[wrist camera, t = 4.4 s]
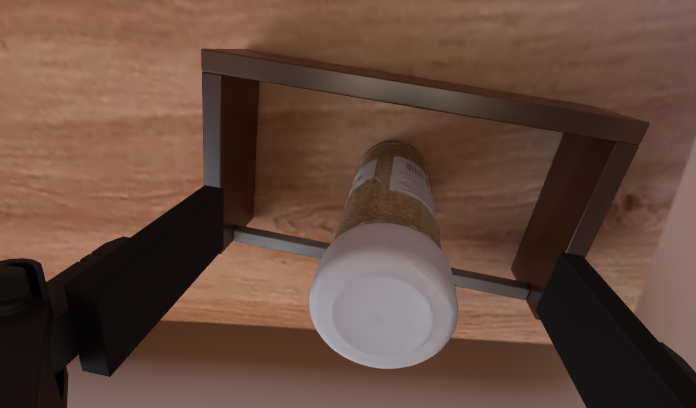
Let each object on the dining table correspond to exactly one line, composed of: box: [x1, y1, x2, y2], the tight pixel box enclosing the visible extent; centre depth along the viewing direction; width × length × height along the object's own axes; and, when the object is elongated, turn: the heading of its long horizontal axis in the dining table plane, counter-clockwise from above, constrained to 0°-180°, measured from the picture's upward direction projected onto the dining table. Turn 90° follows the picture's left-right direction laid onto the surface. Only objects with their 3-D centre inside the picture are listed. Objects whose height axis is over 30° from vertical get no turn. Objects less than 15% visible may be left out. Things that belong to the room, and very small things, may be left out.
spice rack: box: [201, 49, 650, 320], centre depth 20 cm, size 20×11×5 cm, turn 82°
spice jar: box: [309, 142, 458, 369], centre depth 17 cm, size 5×5×13 cm
